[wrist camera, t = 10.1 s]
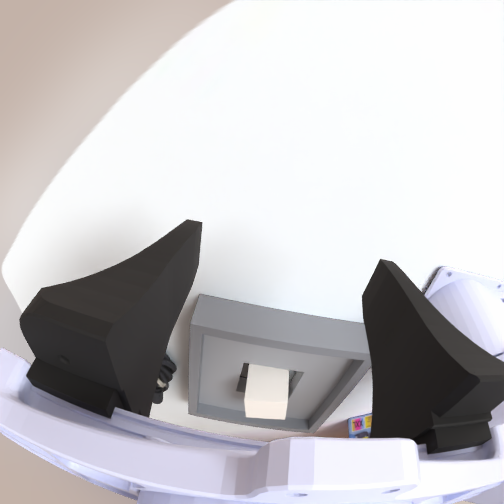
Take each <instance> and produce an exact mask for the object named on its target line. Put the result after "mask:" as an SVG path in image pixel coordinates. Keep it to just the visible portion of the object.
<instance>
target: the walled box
mask: <svg viewBox="0 0 504 504" xmlns="http://www.w3.org/2000/svg"><path fill="white" fill-rule="evenodd" d="M244 363H249V364H255V365H261V366H267V367H273V368H279V369H286V370H293V371H297V372H296V373H295V375H294V377H293V379H292V381H291V383H290V385H289V386H288V404H287V410H286V417H285V420H283V419H264V418H250V417H246V413H245V403H244V398H245V391H246V384H247V378H243V377H240V375H241V371H242V367H243V364H244ZM371 366H372V365H371V358H370V352H369V346H368V341H367V335H366V330H365V325H364V323H357V322H350V321H344V320H337V319H331V318H325V317H319V316H313V315H307V314H301V313H295V312H290V311H284V310H279V309H273V308H268V307H263V306H257V305H252V304H247V303H242V302H237V301H232V300H227V299H222V298H217V297H212V296H208V295H203V294H200V295H199V298H198V301H197V304H196V307H195V310H194V313H193V316H192V319H191V322H190V341H189V391H188V414H190V415H194V416H199V417H204V418H208V419H213V420H218V421H224V422H229V423H235V424H241V425H247V426H253V427H260V428H268V429H276V430H285V431H294V432H305V433H314V432H315V431H316V430H317V429H318V428H319V427H320V426H321V425H322V424H323V423H324V422H325V421H326V419H327V418H328V417H329V416H330V415H331V414H332V413H333V412H334V410H335V409H336V408H337V407H338V406H339V405H340V404H341V402H342V401H343V400H344V399H345V398H346V397H347V395H348V394H349V393H350V392H351V391H352V389H353V388H354V387H355V386H356V385H357V383H358V382H359V381H360V380H361V378H362V377H363V376H364V375H365V373H366V372H367V371H368V369H369V368H370V367H371Z"/></svg>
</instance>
